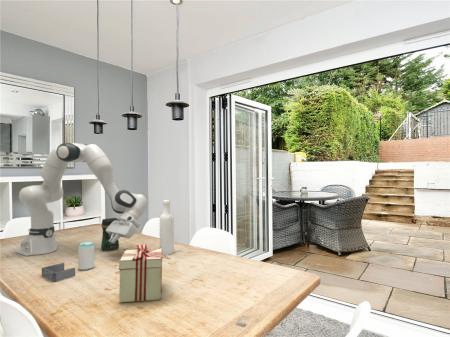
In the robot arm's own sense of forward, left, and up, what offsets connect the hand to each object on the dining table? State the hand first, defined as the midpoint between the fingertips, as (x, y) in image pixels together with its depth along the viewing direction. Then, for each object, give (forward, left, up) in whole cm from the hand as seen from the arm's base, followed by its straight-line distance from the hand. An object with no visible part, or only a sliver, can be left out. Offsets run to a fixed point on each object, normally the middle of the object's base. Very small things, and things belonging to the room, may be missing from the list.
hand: (111, 242), depth 145 cm
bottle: (+18, +23, -10) cm, 31 cm away
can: (-4, -12, -10) cm, 16 cm away
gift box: (+40, -23, -10) cm, 48 cm away
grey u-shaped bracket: (-7, -24, -10) cm, 27 cm away
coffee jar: (-18, +17, -10) cm, 26 cm away
